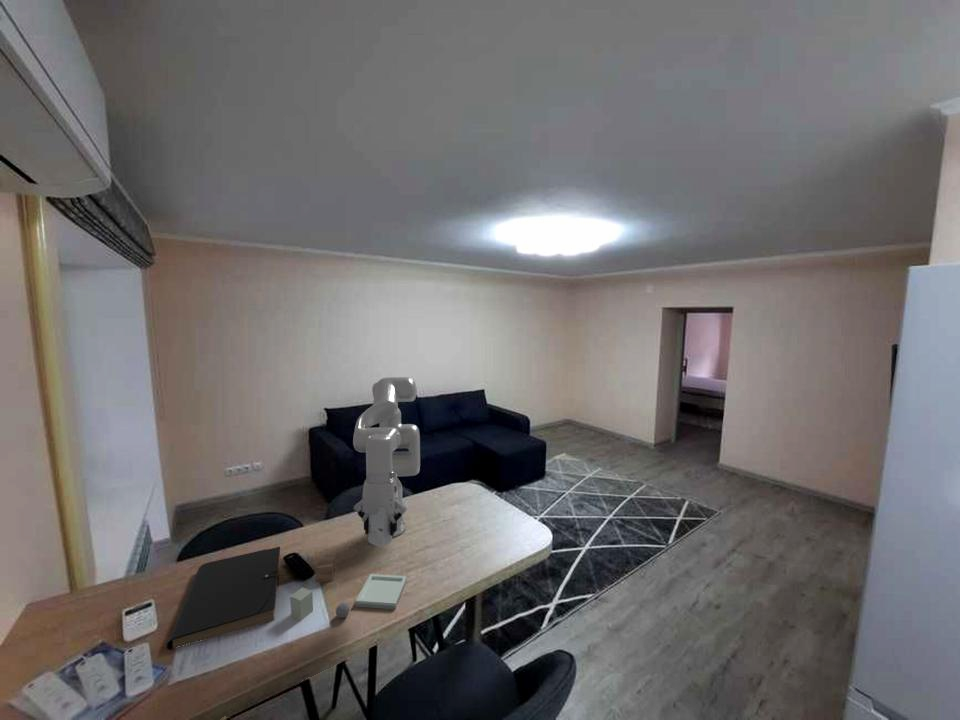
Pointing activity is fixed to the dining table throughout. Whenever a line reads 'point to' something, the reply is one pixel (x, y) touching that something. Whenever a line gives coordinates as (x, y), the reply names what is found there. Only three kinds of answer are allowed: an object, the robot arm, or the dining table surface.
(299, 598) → the sage block
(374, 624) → the dining table surface
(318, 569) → the walnut cube
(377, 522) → the skincare box
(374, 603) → the tray
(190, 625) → the file folder
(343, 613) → the grey ball
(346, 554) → the dining table surface
